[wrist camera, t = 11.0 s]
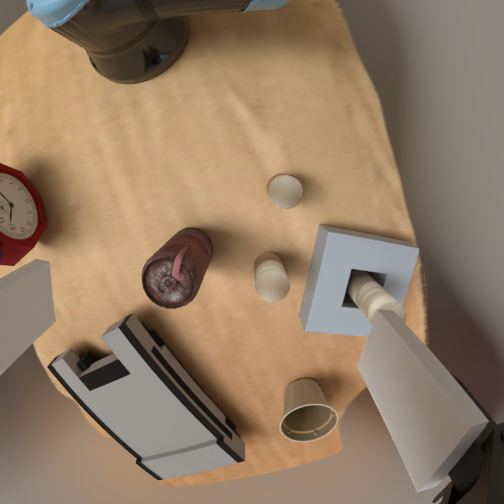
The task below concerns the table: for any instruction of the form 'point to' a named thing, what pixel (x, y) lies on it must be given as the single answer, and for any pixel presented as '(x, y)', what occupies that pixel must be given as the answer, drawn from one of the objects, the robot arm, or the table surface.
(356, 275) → the dowel long
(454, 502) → the robot arm
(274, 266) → the dowel medium
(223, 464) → the game console
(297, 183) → the dowel short
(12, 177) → the alarm clock
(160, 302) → the can
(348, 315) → the hole block
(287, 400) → the flower pot
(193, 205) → the table surface
